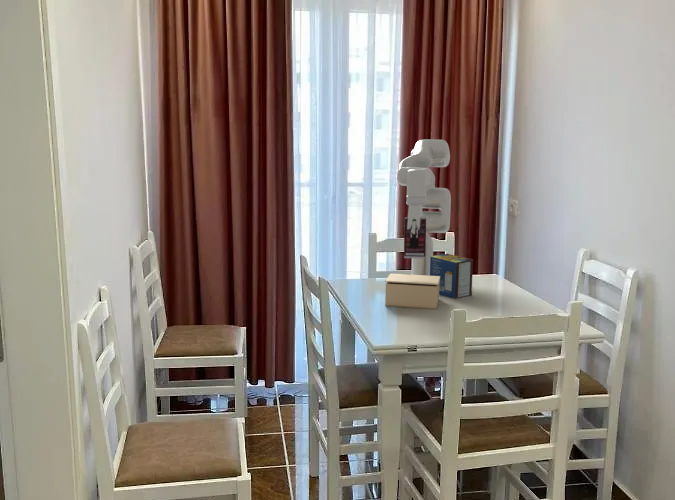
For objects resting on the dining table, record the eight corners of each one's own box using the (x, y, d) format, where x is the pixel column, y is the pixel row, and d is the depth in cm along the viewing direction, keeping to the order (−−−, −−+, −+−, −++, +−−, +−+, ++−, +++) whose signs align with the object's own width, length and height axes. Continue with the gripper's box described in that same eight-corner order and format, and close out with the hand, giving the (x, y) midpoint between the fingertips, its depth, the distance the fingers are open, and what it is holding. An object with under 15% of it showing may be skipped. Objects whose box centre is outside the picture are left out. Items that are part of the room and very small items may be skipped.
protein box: (445, 288, 298) (447, 253, 295) (472, 295, 286) (473, 259, 283) (428, 291, 292) (429, 256, 289) (454, 299, 280) (456, 262, 277)
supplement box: (425, 256, 273) (426, 217, 270) (425, 259, 268) (426, 219, 265) (403, 256, 274) (404, 216, 271) (403, 258, 269) (404, 218, 266)
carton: (390, 296, 283) (391, 275, 281) (438, 299, 279) (439, 277, 277) (385, 306, 268) (385, 283, 266) (436, 309, 264) (437, 286, 262)
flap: (390, 274, 281) (390, 273, 281) (440, 277, 277) (440, 276, 277) (385, 281, 266) (385, 280, 265) (437, 284, 261) (437, 283, 261)
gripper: (408, 198, 276) (407, 242, 279) (404, 202, 259) (402, 249, 263) (427, 198, 274) (425, 243, 278) (423, 203, 258) (422, 250, 261)
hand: (414, 245), depth 270 cm, fingers closed on supplement box, 5 cm apart
